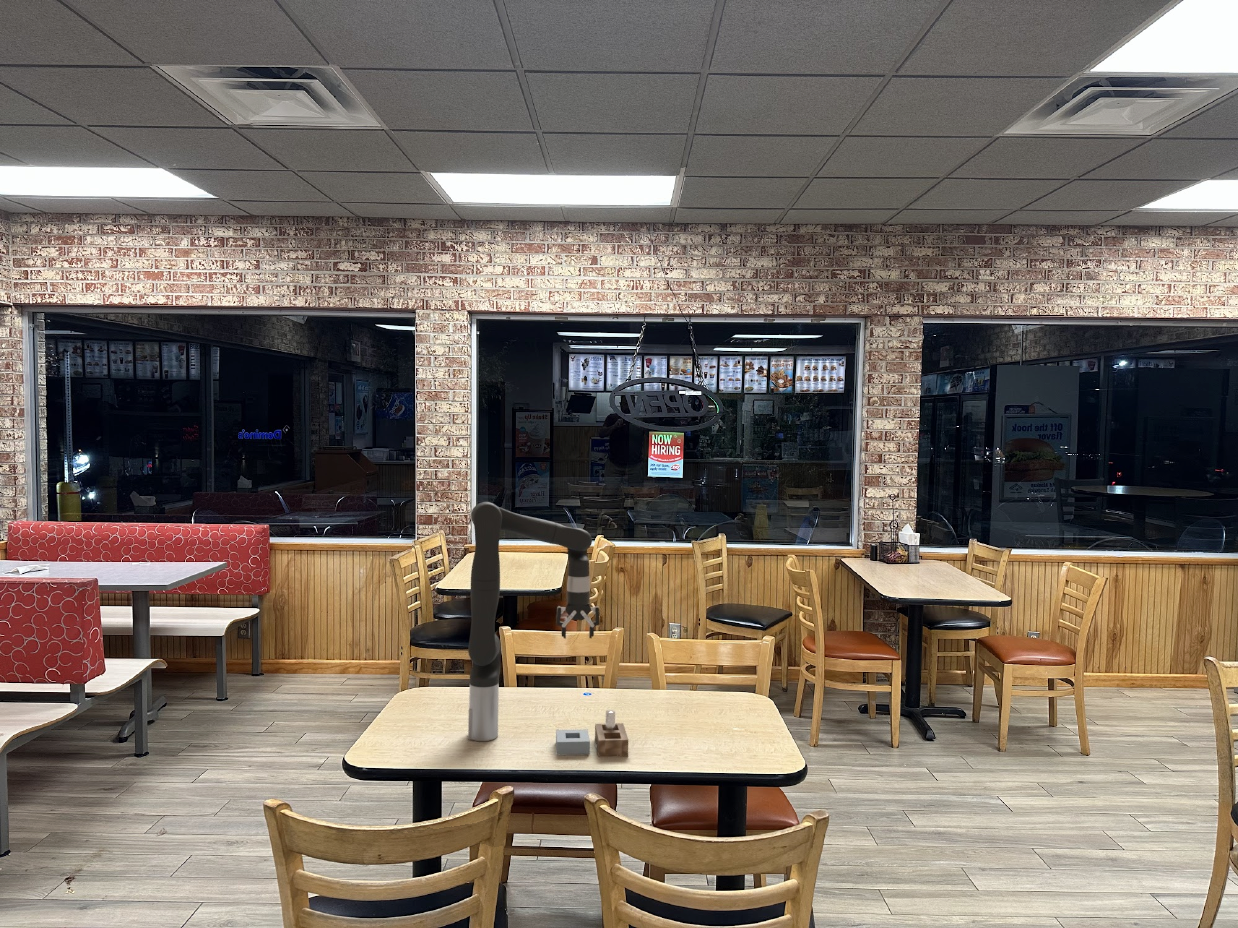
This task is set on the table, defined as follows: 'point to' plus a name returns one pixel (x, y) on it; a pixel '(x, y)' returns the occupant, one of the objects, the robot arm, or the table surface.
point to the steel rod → (610, 720)
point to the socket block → (572, 742)
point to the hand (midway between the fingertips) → (577, 637)
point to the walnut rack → (611, 740)
